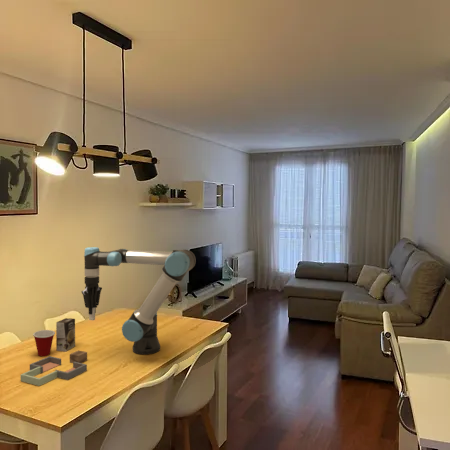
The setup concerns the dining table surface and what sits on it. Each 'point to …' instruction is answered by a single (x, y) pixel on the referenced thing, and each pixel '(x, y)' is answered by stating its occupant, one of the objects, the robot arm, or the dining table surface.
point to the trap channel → (49, 364)
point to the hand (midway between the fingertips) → (92, 319)
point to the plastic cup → (44, 341)
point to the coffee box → (65, 334)
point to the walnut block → (78, 357)
